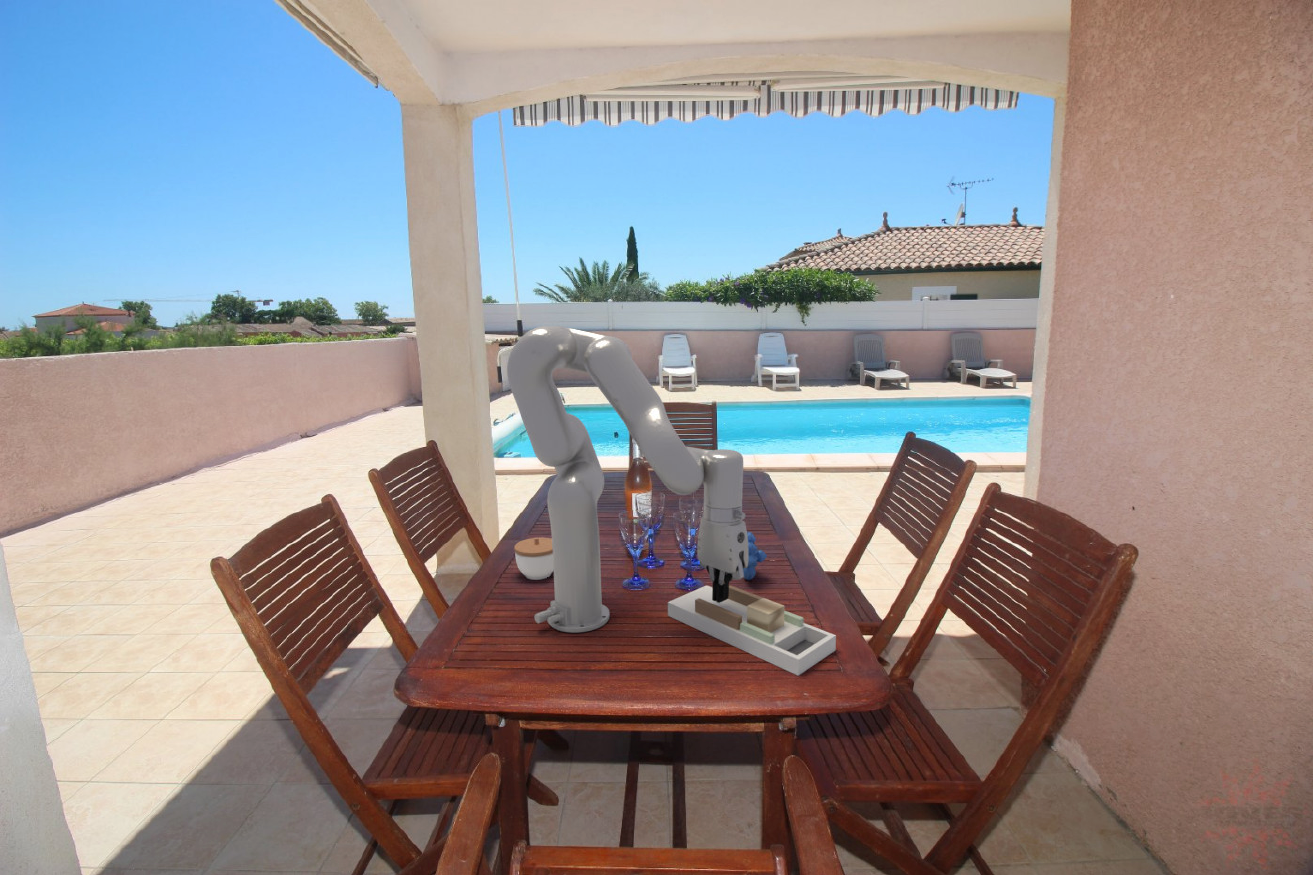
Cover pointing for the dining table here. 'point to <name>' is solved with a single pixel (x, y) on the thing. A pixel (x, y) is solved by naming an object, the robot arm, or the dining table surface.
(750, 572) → the blue lumpy piece
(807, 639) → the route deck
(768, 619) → the maple block
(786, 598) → the dining table surface
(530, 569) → the lidded jar
